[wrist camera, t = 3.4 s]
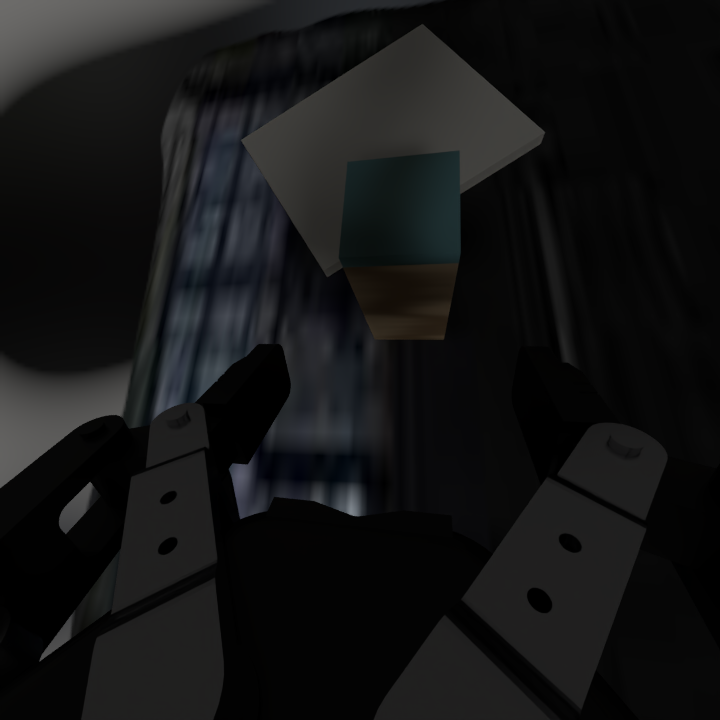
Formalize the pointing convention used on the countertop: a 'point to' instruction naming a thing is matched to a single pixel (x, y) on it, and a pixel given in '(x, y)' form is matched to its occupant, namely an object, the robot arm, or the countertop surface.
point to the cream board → (385, 132)
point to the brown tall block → (403, 242)
